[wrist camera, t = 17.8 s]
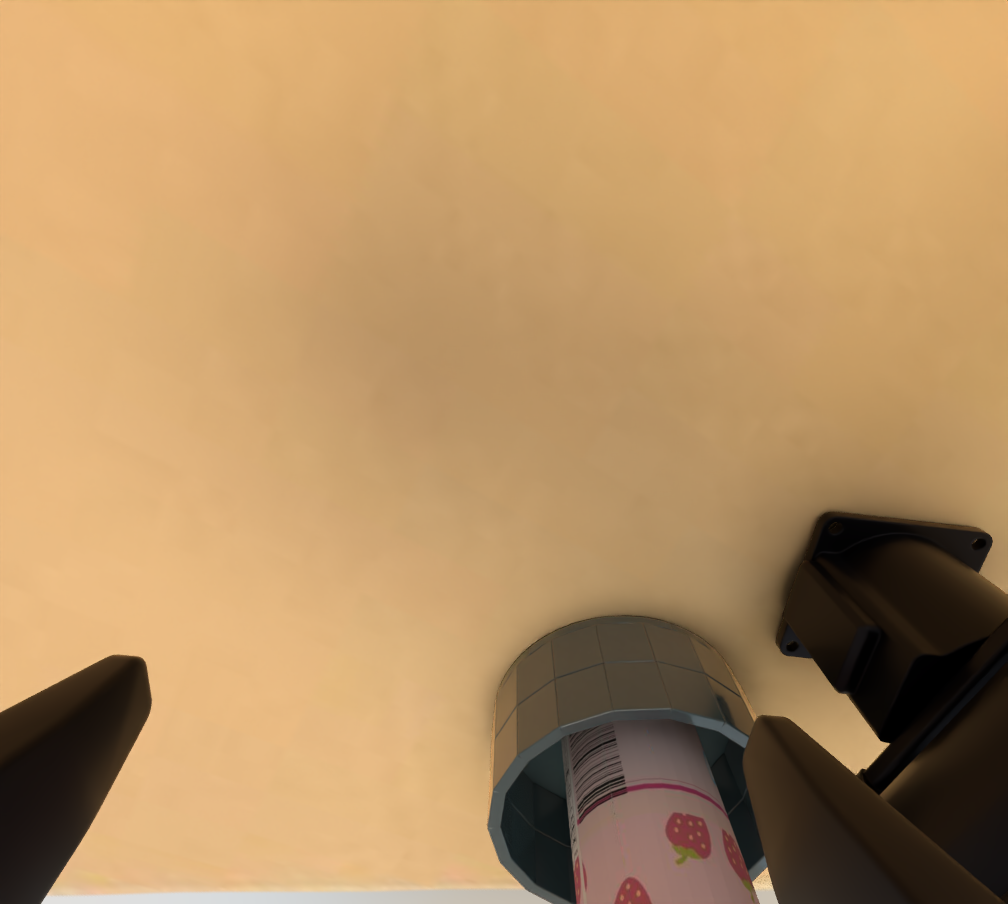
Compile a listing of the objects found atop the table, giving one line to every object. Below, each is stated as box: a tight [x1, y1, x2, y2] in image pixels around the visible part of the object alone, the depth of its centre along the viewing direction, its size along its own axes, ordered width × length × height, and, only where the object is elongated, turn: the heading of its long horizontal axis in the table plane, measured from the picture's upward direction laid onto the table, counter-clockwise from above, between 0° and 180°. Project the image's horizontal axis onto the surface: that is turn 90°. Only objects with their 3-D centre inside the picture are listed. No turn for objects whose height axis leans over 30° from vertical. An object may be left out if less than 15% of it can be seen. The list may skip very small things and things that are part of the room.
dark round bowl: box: [487, 616, 767, 904], centre depth 23 cm, size 11×11×5 cm
